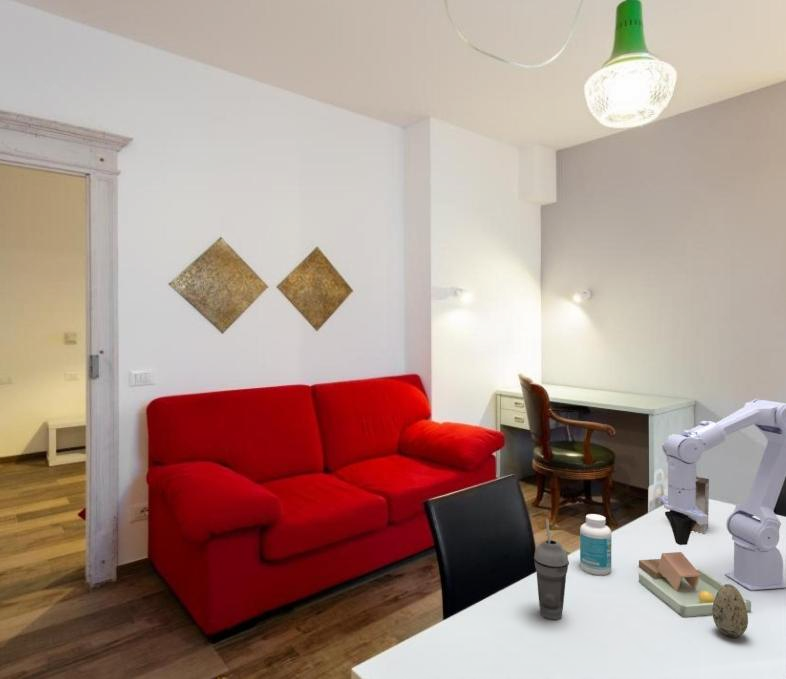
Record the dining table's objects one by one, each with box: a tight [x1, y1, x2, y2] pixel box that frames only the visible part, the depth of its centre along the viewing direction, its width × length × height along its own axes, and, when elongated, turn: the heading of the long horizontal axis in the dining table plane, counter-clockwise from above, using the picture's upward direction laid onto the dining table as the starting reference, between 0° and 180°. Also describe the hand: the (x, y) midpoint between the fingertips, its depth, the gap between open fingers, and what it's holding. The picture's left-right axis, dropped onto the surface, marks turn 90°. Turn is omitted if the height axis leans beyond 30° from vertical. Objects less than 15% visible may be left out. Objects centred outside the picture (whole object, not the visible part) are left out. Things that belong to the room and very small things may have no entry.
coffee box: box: [691, 476, 710, 535], centre depth 157 cm, size 9×6×16 cm
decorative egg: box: [711, 583, 749, 638], centre depth 103 cm, size 6×6×10 cm
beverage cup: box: [533, 518, 570, 620], centre depth 111 cm, size 7×7×20 cm
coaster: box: [638, 558, 684, 580], centre depth 129 cm, size 7×7×2 cm
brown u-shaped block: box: [658, 551, 700, 591], centre depth 122 cm, size 5×5×7 cm
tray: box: [638, 568, 752, 618], centre depth 118 cm, size 16×16×2 cm
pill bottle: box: [579, 513, 612, 576], centre depth 131 cm, size 8×7×14 cm
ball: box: [698, 591, 714, 603], centre depth 113 cm, size 3×3×3 cm
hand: (681, 543), depth 122 cm, fingers closed
